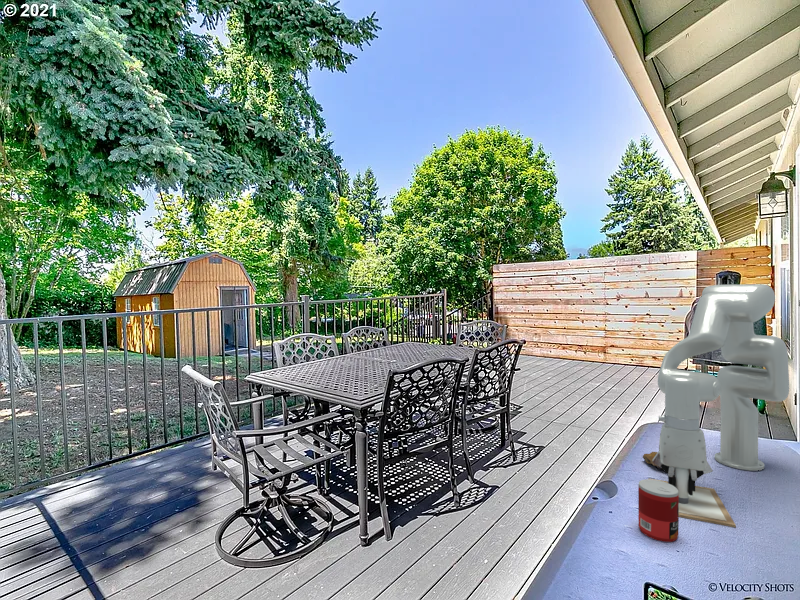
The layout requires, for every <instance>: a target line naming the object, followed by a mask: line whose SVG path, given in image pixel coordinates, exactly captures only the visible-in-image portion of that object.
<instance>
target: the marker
mask: <svg viewBox="0 0 800 600" xmlns="http://www.w3.org/2000/svg"><path fill="white" fill-rule="evenodd" d="M674 476H675V478H676V488H677V489H678V493H679V503H681V504H688V503H689V493H688V491H689V469H684V468H678V467H675V468H674Z"/></svg>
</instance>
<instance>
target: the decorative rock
mask: <svg viewBox="0 0 800 600" xmlns="http://www.w3.org/2000/svg"><path fill="white" fill-rule="evenodd" d="M657 452H658V451H651V452H650V453H643V454H642V459H644V461H645V463H647V464H648V465H652V466H653V467H656V468H657V469H661V470H663V469H662V468H661V467H659V466H657V465H656V464H654V463H653V461H652V460H653V458H654V457H655V455H656V454H657ZM663 471H664V470H663ZM689 474H690V473H689Z"/></svg>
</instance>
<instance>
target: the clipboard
mask: <svg viewBox="0 0 800 600" xmlns="http://www.w3.org/2000/svg"><path fill="white" fill-rule="evenodd" d="M647 479H651V477H650V478H649V477H648V478H647ZM652 479H653V480H657V479H655V478H652ZM658 480H659V481H663V482H666V483H668V480H662V479H658ZM679 518H683V519H689V520H694V521H698V522H704V523H709V524H714V525H720V526H725V527H729V528H737V526H736V525H737V524H736V523H735V521H734V519H733V518H732V516H731V515H730V513H729V510H727V508H726V506H725V505H724V502H723V501H722V499H721V497H720V496H719V495H718V493H717V491H716V490H715V488H712V487H705V486H701V485H699V486H698V485H695V491H693V496H692V495H689V503H688V504H681V503H679Z"/></svg>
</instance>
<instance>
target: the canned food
mask: <svg viewBox="0 0 800 600" xmlns="http://www.w3.org/2000/svg"><path fill="white" fill-rule="evenodd" d="M653 479H654V478H650V479H648V478H647V479H645V478H644V479H641V480H639V481H638V491H637V492H638V497H637V499H638V501H637V503H638V528H639V531H640V532H641V533H642V534H643V535H644V536H647V537H648V538H650V539H653V540H656V541H660V542H663V543H673V542H675V541H677V539H678V537H679V525H680V524H679V520H680V519H679V518H680V517H679V493H678V489H677V488H676V487H674V486H673V485H671V484H668V483H666V482H663V481H664V480H662V481H659V480H660V479H656V480H653Z"/></svg>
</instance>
